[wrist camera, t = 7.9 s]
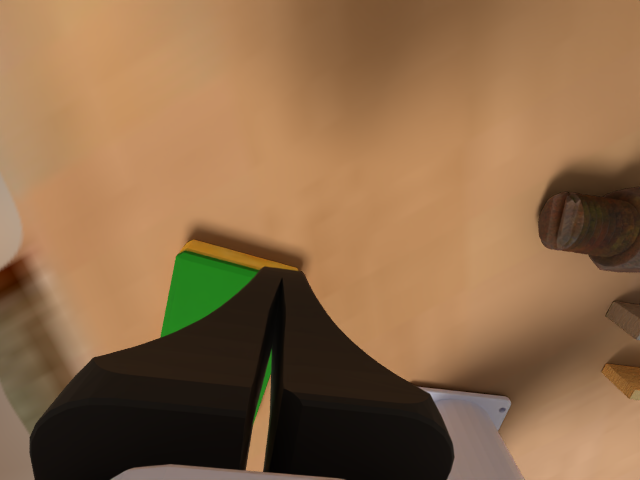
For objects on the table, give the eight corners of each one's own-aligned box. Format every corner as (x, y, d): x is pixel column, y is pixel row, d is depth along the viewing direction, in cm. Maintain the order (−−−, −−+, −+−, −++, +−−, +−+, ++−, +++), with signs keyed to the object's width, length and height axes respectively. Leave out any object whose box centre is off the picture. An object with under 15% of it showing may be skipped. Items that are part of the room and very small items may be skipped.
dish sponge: (155, 400, 27) (142, 428, 25) (189, 235, 22) (176, 251, 20) (250, 419, 28) (244, 448, 26) (302, 266, 23) (302, 285, 21)
